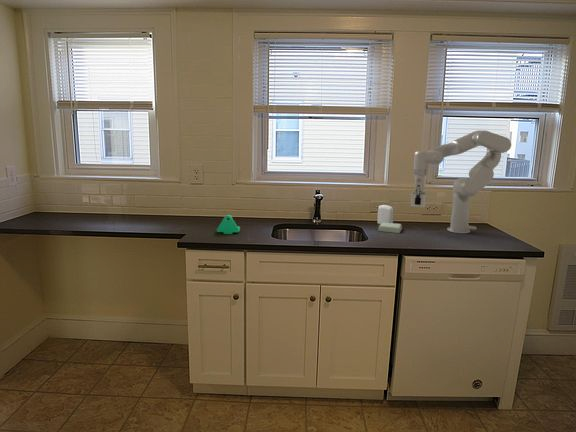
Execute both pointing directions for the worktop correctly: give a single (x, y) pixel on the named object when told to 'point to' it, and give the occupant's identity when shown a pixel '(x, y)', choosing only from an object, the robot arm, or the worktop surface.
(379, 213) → the photo printer
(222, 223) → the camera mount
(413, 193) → the housing
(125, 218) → the worktop surface
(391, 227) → the stand
